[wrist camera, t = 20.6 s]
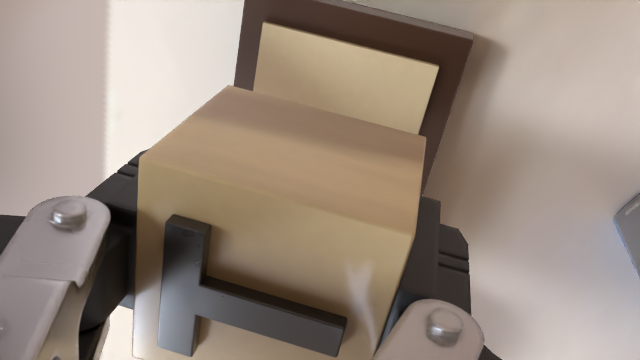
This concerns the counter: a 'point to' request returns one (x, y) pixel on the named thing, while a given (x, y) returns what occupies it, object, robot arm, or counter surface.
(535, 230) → the counter surface
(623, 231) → the label tape box
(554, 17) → the counter surface
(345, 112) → the word board
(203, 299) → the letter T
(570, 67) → the counter surface
